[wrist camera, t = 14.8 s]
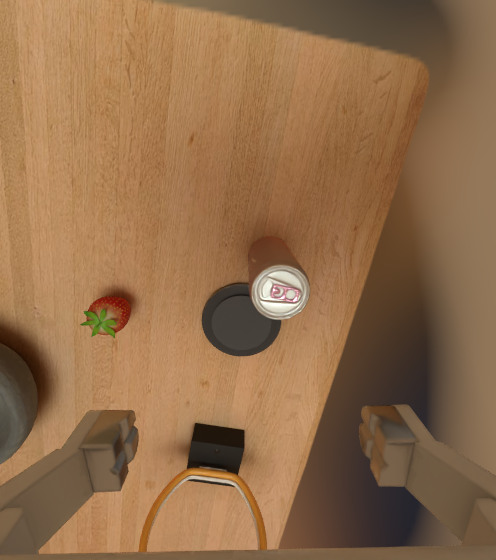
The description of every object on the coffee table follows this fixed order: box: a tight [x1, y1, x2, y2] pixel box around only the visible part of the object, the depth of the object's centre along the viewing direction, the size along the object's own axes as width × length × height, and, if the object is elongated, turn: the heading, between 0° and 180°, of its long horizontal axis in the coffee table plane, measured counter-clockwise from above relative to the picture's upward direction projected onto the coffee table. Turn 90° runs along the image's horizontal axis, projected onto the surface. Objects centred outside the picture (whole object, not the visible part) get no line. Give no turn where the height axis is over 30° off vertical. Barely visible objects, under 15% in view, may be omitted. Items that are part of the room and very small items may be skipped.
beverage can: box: [248, 236, 310, 320], centre depth 35 cm, size 6×6×15 cm
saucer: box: [202, 283, 281, 356], centre depth 44 cm, size 12×12×1 cm
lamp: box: [138, 423, 267, 552], centre depth 38 cm, size 17×9×32 cm, turn 79°
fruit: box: [81, 297, 131, 338], centre depth 40 cm, size 5×5×8 cm
